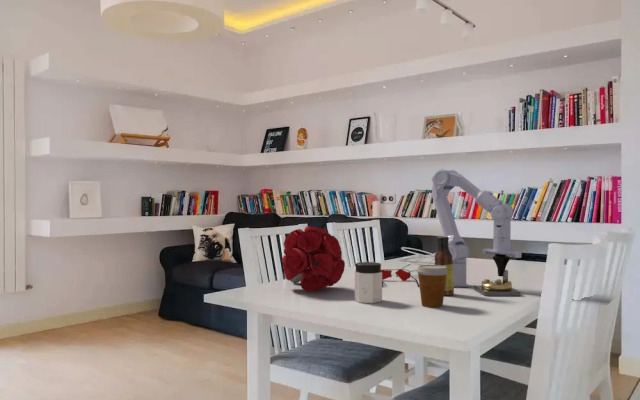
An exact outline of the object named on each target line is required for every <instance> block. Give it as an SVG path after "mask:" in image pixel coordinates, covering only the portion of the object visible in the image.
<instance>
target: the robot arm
mask: <svg viewBox="0 0 640 400" xmlns="http://www.w3.org/2000/svg"><path fill="white" fill-rule="evenodd" d="M431 181H432V189H431V198H432V201H433V204H434V207H435V210H436V213H437V218H438V221H439V223H440V226H441V230H442V233H443V236H448V237H449V241H448V246H449V251H450V253H451V255H452V260H453V277H454V288H455V287H459V288H460V287H462V288H466V287H468V288H469V287H470V286H471V285H469V284H468V283H467V259H468V257H469V256H470V253H471V252H470V248H469V246H468V245H467V244H466V242H465V240H464V238H463V237H462V236H461V235H460V233H459V230H458V227H457V224H456V221H455V218H454V214H453V212H452V208H451V206H450V202H449V199H448V195H449V193H450V192H451V191H452V190H453V189H454V188H455V187H459V188H460V189H462V190H463V191H464V192H465V193H467V194H469V195H470V196H472V197H473V198H474V199H475V202H476V204H477V205H478V206H480V207H481V208H482V209H483V210H485V211H486V212H488V213H489V214H490V216H491V218H492V219H493V233H492V234H493V235H492V236H493V239H492V241H493V242H492V243H493V247H492V248H490V247H489V248H488V247H487V248H485V247H484V248H483V249H482V254H483V255H494V256H492V259H493V262H494V263H495V266H496V268H497V276H498V277H503V270H506V267H507V265H508V263H509V261H510V259H511V258H516V259H521V258H522V251H517V250H511V233H512V232H511V218H512V217H513V215H514V209H513V207H512V206H511V205H510V204H509V203H503V200H502V199H499V198H497V197H496V196H494V195H493V192H492V191H489V190H483V191H482V190H480V188H478V187H477V186H476V185H474V184H473V183H472V182H471V181H470V180H468V179H467V178H466V177H465V176H464V175H463V174H461V173H459V172H457V171H456V170H454V169H453V170H452V169H451V170H449V169H443V168H441V169H438V170H436V171H435V172H434V174H433V176H432V178H431Z"/></svg>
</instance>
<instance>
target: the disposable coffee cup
mask: <svg viewBox="0 0 640 400" xmlns="http://www.w3.org/2000/svg"><path fill="white" fill-rule="evenodd" d="M447 272H448V271H447V267H446V266H441V265H434V264H420V265H418V266H417V269H416V273H417V275H418V276H417V277H418V284H419V292H420V293H419V294H420V300H421V306H423V307H426V308H441V307H443V304H444V297H445V295H444V291H445V283H446V275H447Z"/></svg>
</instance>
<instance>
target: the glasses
mask: <svg viewBox="0 0 640 400" xmlns="http://www.w3.org/2000/svg"><path fill="white" fill-rule="evenodd" d="M392 271H395V272H394V274H395V276H396V278H398V277H399V279H400V280H402V281H407V280H409V279H410V278H412V279H413V280H414V281H416V284H417V288H420V286H419V280H418V279H417V278H415V277H414V276H413V275H412V274H411V271H410V270H408V269H405V268H404V269H401V268H399V269H398V268H397V269H391V268H389V269H387V268H386V269H385V268H384V269H381V272H382V288H384V280H385V279H389V278H392V277H393V275H392Z"/></svg>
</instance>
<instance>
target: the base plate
mask: <svg viewBox="0 0 640 400" xmlns="http://www.w3.org/2000/svg"><path fill="white" fill-rule="evenodd" d="M473 289H474V291H476V292H477V293H479V294H480V295H483V296H484V297H521V291H519V290H518V289H516V288H514V287H512V289H511V290H504V291H499V290H488V289H484V288H482V285H474V286H473Z"/></svg>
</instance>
